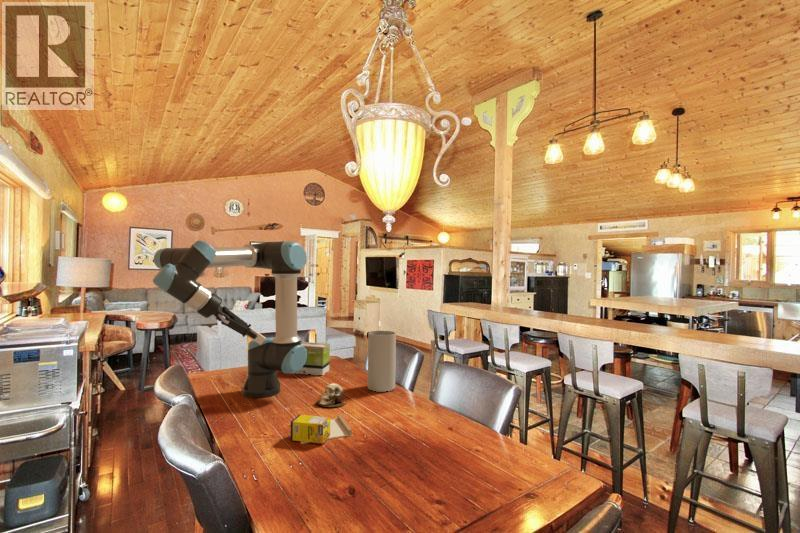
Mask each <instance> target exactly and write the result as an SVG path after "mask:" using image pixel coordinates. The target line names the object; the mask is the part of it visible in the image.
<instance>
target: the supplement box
mask: <svg viewBox="0 0 800 533" xmlns="http://www.w3.org/2000/svg"><path fill="white" fill-rule="evenodd" d="M330 420H331V417H330V416H321V415H320V416H319V415H318V416H316V415H309V414H308V415H305V414H299V415H297V416H296V417H295V418H294V419H292V420H291V421H290V441H292V442H293V441H295V442H300V441H303V442H310V443H313V444H324V443H325V442H326V441H327V438H328V437H329V436H330Z"/></svg>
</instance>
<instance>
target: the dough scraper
mask: <svg viewBox="0 0 800 533" xmlns="http://www.w3.org/2000/svg"><path fill="white" fill-rule="evenodd" d="M350 436H352V428H351V427H350V426H349V424H348V423H347V421H346V420H345V419H344V418H343V416H342V415H341V414H337V418H334V419H330V436H329V437H328V438H327V440H332V439H334V440H335V439H339V438H345V437H350ZM327 440H326V441H327ZM299 442H300V445H303V444H304V445H305V444H310V443H311V442H303V441H299Z"/></svg>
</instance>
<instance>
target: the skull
mask: <svg viewBox="0 0 800 533" xmlns="http://www.w3.org/2000/svg"><path fill="white" fill-rule="evenodd" d="M324 389H325V390H324V391H323V392H322V396H321V397H320V399H317V400H316V402H315V404H316V405H318V406H320V407H324V408H339V407H342V406H345V405H346V404H347V403H346V402H347V401H344V402H345V403H344V402H343V401H342V399H343V398H344V389H343V388H342V386H340V384H338V383H336V382H335V383H334V382H332V383H329V384H328V385H327V386H326V387H325V388H324ZM342 402H343V403H342Z"/></svg>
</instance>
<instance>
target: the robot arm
mask: <svg viewBox="0 0 800 533" xmlns="http://www.w3.org/2000/svg"><path fill="white" fill-rule="evenodd" d="M307 259H308V256H307V252H306V250H305V248H304V247H303V244H302V245H301V243H299V242H297V241H289V240H288V241H287V240H286V241H285V240H284V241H265V242H260V243H252V244H250V243H249V244H245V245H243V246H231V247H228V246H226V247H223V246H222V247H217V246H216V247H215V246H214V247H213V246H212V245H211V244H210V243H209V242H207V241H204V240H200V239H199V240H196V241H195V242H194V243H193V244H191V246H190V247H165V248H161V249H158V250H157V251H156V252H155V253H154V256H153V264H154V265H155V267H156V268H158V269H160V270H159V271H158V272H157V273H156V274H155V276H154V277H153V279H152V283H153V285H154V286H156V287H157V288H159V289H160V290H162V291H163V293H166V294H168V295H169V296H172V298H175V299H176V300H177V301H178V302H181V303H182V304H184V305H185V308H187V309H188V308H189V309H191V310H193V311H196V312H197V313H198V314H199V315H201V316H202V317H204V318H205V319H208V318H210V317H211V316H214V317H215V319H216V321H219V322H220V324H221V325H223V326H225V327H228V328H229V329H231V330H233V331H234V332H236V333H238V334H240V335H241V336H242V337H243V338H244V337H248V338H249V339H251V340H250V341H249V343H248V347H247V377H246V378H245V382H244V385H243V386H242V387H243V388H242V395H243V396H244V397H247V398H254V399H255V398H257V399H258V398H267V397H272V396H275V395H277V394H279V393H280V392H281V383H280V380H279V378H278V374H277V372H279V373H283V374H295V373H296V372H298V371H299V370H301V368H302V367H303V365H304V364H305V362H306V359H307V350H306V349H305V347H304V346H302V345H301V343H302V338H301V337H300V336H299V335H298V277H300V275H301V274H302V270H303V269H304V268H305V267H306V265H307V262H308V261H307ZM242 266H244V267H245V268H247V269H249V268H250V269H251V268H255V269H265V270H271V276H272V277H274V279H275V280H274V282H275V292H274V294H275V335H274V336H275V337H274V336H270V337H266V336H264V335H262V334H261V333H260V332H258V331H257V330H255V329H254V328H252V324H251V323H249V324H248V323H247V322H246V321H244V320H243V319H242V318H241V317H239V316H238V315H236V314H235V313H234V312H233V311H232V310H230V309H229V308H228V307H227V306H225V305H224V306H221V305H222V303H223V299H222V298H221V297H220V296H218V295H217V294H215V293H212V291H211V290H210V289H208V288H207V287H205V286H204V285H202V284H201V283H200V282H198V281H197V280H198V279H199V278H200V276H201V275H202V274H203V272H205V270H206V269H211V268H213V269H214V268H215V269H217V268H228V267H229V268H230V267H231V268H232V267H242Z"/></svg>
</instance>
